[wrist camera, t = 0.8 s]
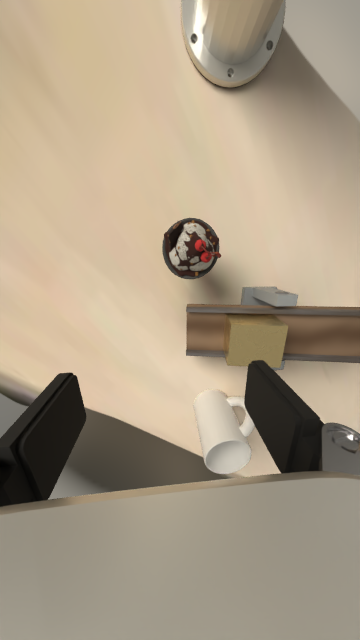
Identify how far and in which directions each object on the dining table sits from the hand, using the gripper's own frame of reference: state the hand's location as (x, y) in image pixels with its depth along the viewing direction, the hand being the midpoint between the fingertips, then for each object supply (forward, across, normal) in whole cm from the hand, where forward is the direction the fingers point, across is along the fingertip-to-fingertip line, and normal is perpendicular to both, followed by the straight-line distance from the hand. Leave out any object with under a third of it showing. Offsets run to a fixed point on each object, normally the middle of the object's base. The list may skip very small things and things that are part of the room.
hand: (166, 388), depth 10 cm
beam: (+21, -18, +5) cm, 28 cm away
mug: (+24, -11, +24) cm, 36 cm away
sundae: (+25, -4, -8) cm, 26 cm away
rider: (+17, -13, +5) cm, 22 cm away
